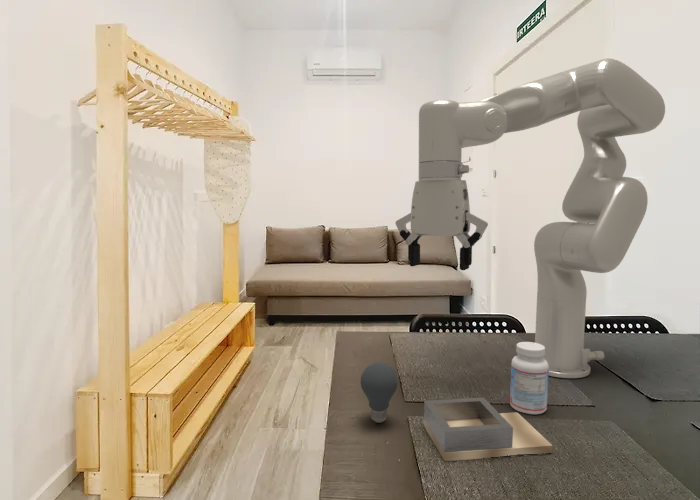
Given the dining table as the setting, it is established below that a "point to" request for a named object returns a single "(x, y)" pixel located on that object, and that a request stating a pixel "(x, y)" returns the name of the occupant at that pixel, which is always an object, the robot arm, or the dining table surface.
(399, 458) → the dining table surface
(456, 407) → the collar
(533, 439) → the board
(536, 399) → the pill bottle
